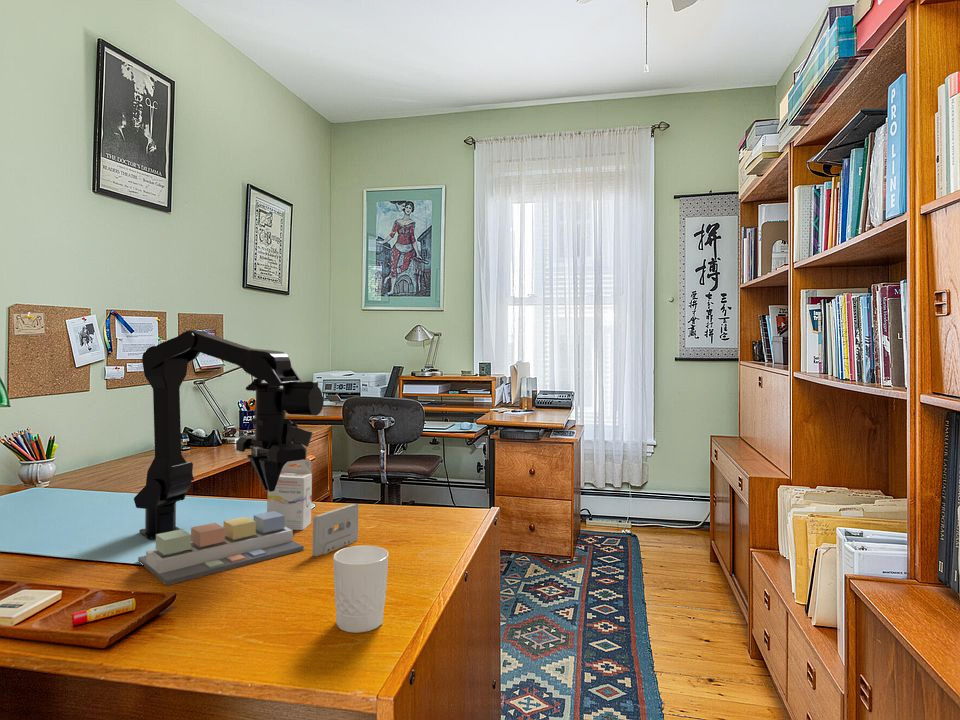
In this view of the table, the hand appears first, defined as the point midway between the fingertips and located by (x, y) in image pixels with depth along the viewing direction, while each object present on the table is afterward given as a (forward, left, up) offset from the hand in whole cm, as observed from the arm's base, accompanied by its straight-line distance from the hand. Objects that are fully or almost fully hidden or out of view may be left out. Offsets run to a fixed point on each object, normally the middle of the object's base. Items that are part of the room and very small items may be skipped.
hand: (269, 490), depth 117 cm
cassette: (+10, +9, -11) cm, 18 cm away
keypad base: (0, -9, -11) cm, 14 cm away
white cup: (+40, -6, -11) cm, 42 cm away
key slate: (0, 0, -8) cm, 8 cm away
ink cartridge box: (-9, +9, -11) cm, 17 cm away
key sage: (0, -18, -8) cm, 20 cm away
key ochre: (0, -6, -8) cm, 10 cm away
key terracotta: (0, -12, -8) cm, 14 cm away
